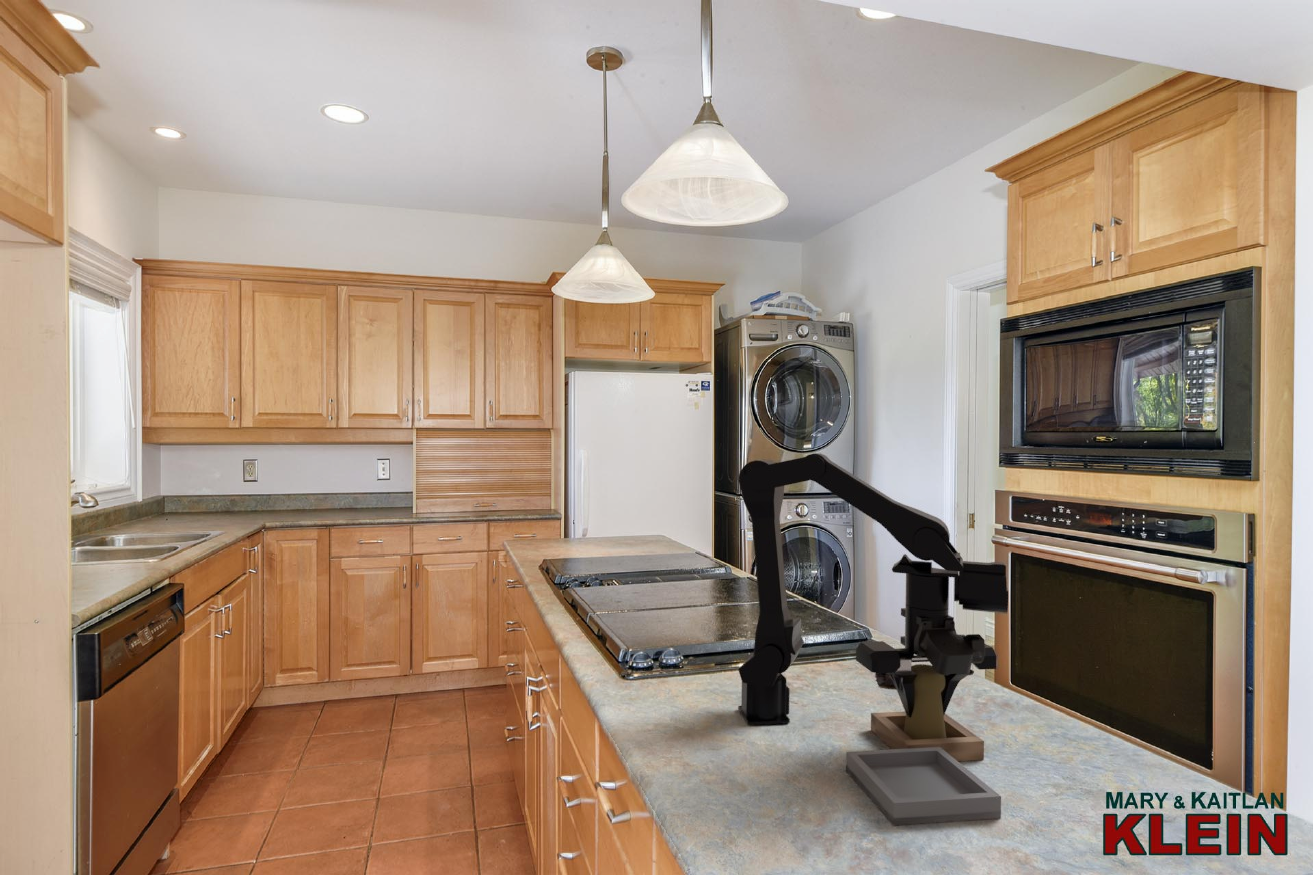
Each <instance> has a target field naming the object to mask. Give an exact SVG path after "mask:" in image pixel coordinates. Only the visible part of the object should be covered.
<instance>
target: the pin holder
mask: <svg viewBox="0 0 1313 875" xmlns="http://www.w3.org/2000/svg"><path fill="white" fill-rule="evenodd" d="M905 720H906V712H905V711H887V712H871V713H870V731H872V732H873V733H874V734H875V735H876V736H877V737H878V738H879V739H880V740H881V741H882V742H884V744H886V746H888V748H890V749H909V748H928V747H941V748H942V749H943V750H944V751H946V752H947V753H948V754H949V755H950V756H952V757H953V758H954V759H955V760H957V761H958V762H963V761H965V762H967V761H981V760H982V761H983V760H984V759H985V758H984V757H985V740H983V739H982V738H980V737H979V736H977V735H976V734H974V733H973V731H970V730H969V729H967V728H966V727H965V726H964V725H962V724H960V722H958V721H957V720H955V718H952V717H951V716H949V715H948V714H946V713H945V714H944V723H945V731H946V738H938V739H918V740H912V739H911V738H910V737H909V736H908V735H906V734H905V733H904V726H905Z"/></svg>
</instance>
